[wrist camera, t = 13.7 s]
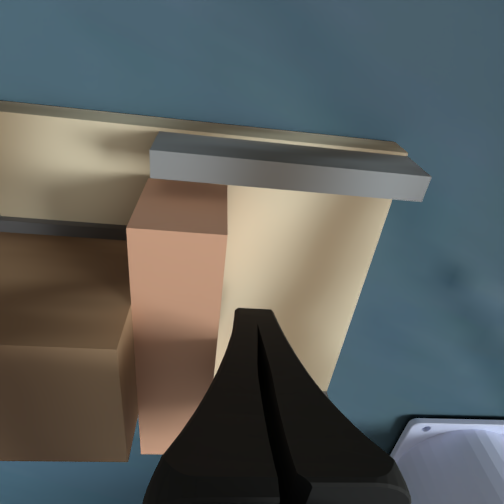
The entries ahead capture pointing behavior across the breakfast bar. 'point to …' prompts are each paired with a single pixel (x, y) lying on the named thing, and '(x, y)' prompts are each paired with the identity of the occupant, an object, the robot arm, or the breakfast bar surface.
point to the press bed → (238, 205)
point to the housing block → (66, 349)
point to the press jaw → (175, 301)
